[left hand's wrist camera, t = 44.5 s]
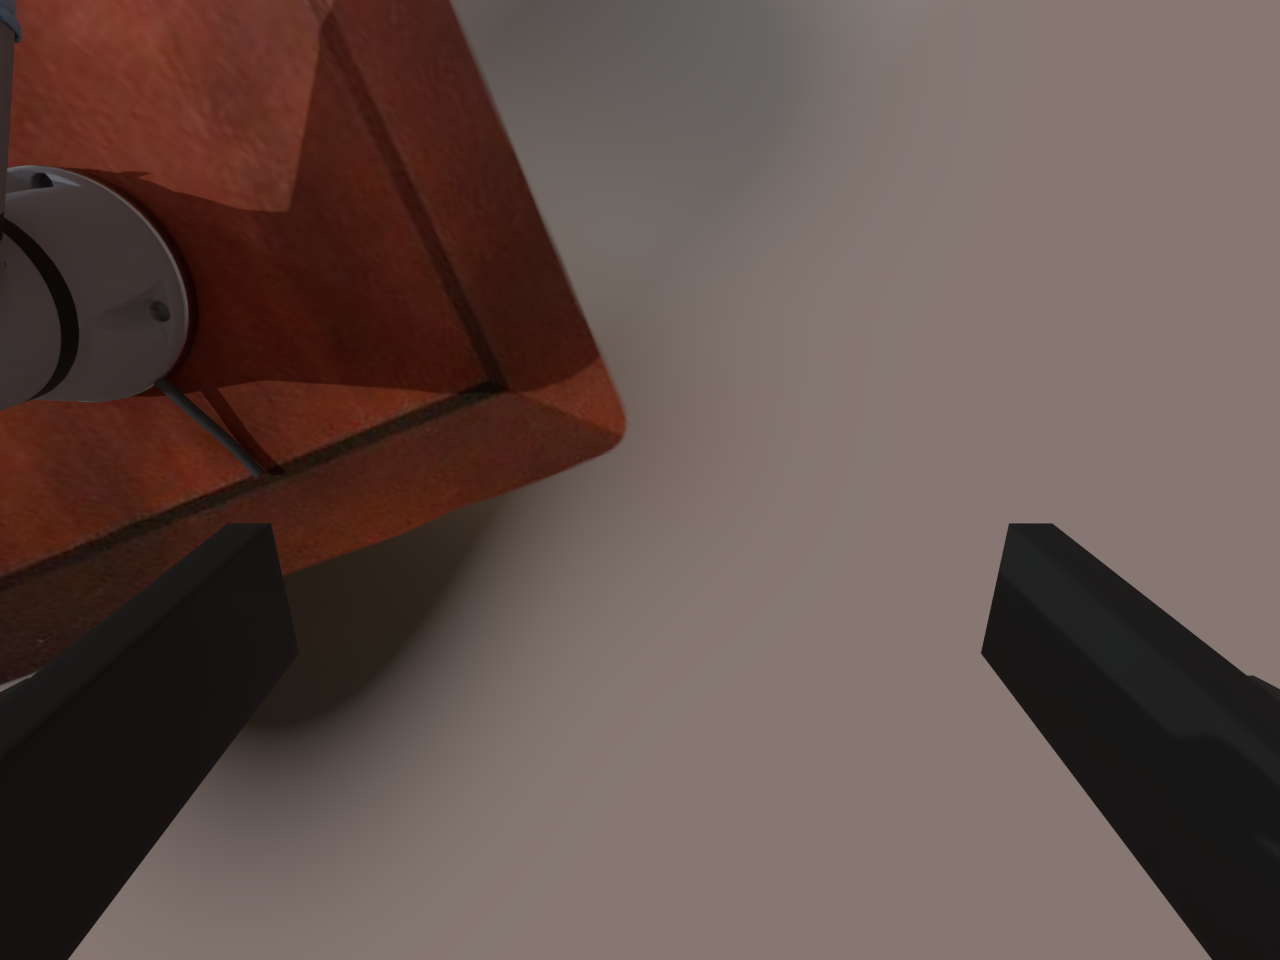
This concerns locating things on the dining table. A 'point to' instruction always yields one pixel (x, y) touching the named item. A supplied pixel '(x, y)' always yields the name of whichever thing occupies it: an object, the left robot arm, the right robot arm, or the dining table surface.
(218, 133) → the dining table surface
